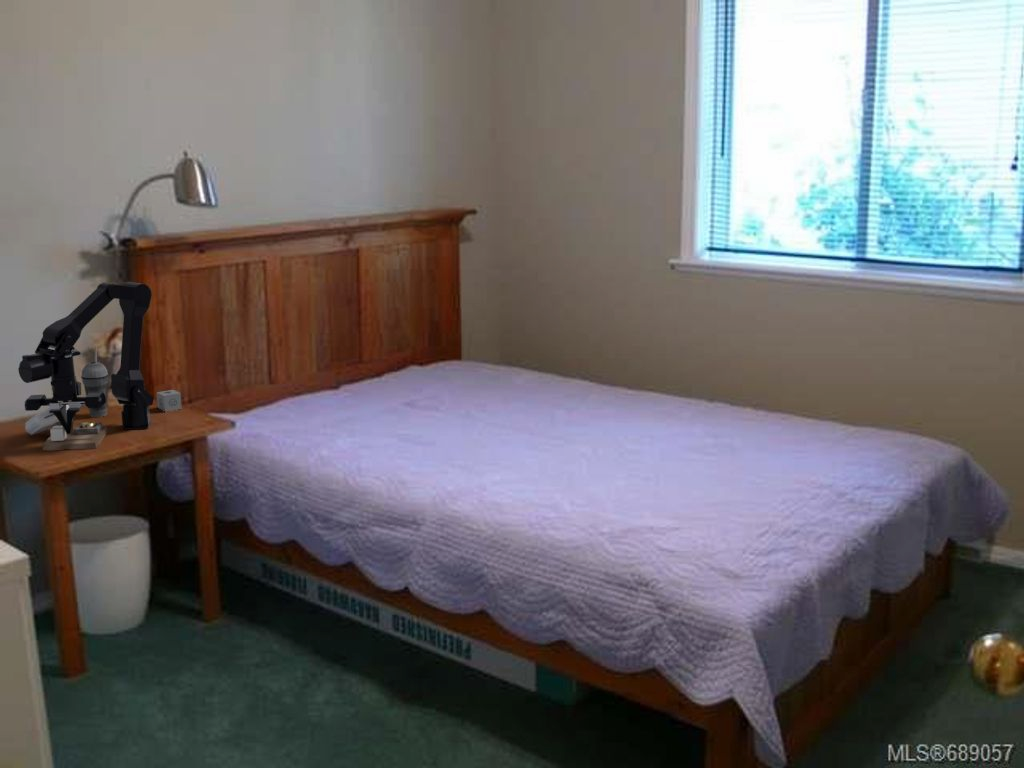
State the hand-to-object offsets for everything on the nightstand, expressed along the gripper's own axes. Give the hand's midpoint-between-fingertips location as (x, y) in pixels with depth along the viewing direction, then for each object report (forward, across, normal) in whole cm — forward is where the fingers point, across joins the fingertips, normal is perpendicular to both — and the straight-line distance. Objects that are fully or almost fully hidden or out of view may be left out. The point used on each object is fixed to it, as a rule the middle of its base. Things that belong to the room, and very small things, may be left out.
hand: (69, 433), depth 285 cm
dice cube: (+4, -20, -32) cm, 38 cm away
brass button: (+2, -3, -8) cm, 8 cm away
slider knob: (+2, +3, 0) cm, 3 cm away
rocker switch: (0, +3, -8) cm, 8 cm away
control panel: (+3, -1, -4) cm, 5 cm away
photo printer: (+1, +10, -14) cm, 18 cm away
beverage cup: (+3, -1, -29) cm, 29 cm away
